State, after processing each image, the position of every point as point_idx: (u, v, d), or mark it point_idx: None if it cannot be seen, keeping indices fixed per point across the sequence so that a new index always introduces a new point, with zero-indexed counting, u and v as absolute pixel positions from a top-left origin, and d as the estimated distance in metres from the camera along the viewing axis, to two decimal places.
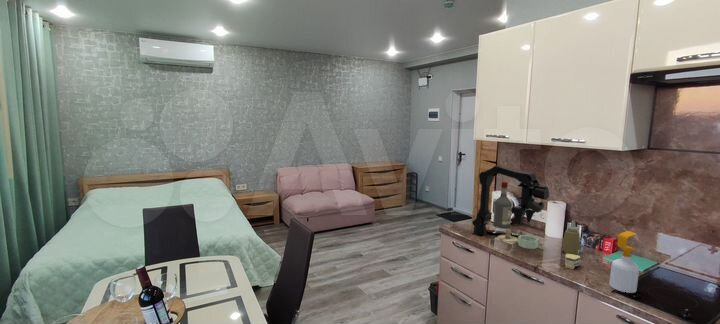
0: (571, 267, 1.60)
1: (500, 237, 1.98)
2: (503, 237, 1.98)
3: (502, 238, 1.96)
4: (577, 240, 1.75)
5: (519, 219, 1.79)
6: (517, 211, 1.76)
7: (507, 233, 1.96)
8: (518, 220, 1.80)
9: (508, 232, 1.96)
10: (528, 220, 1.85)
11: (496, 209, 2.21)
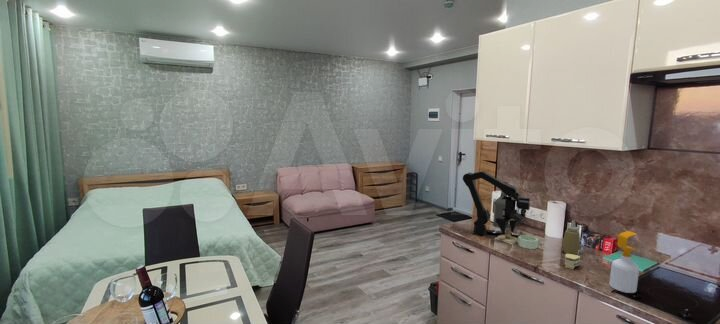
0: (571, 267, 1.60)
1: (500, 237, 1.98)
2: (503, 237, 1.98)
3: (502, 238, 1.96)
4: (577, 240, 1.75)
5: (503, 229, 1.93)
6: (501, 222, 1.90)
7: (507, 233, 1.96)
8: (502, 230, 1.94)
9: (508, 232, 1.96)
10: (512, 230, 2.00)
11: (496, 209, 2.21)
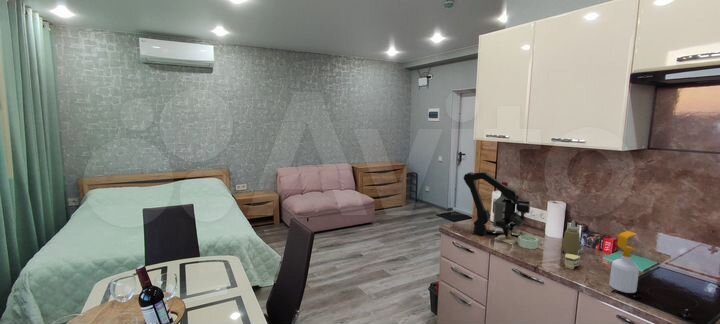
0: (571, 267, 1.60)
1: (500, 237, 1.98)
2: (503, 237, 1.98)
3: (502, 238, 1.96)
4: (577, 240, 1.75)
5: (506, 231, 1.95)
6: (501, 225, 1.90)
7: None
8: (505, 232, 1.96)
9: (508, 232, 1.96)
10: None
11: (496, 209, 2.21)
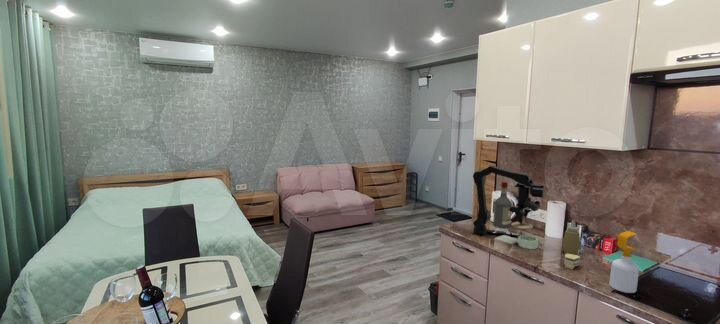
0: (571, 267, 1.60)
1: (514, 224, 1.91)
2: (517, 224, 1.91)
3: (516, 225, 1.89)
4: (577, 240, 1.75)
5: (520, 217, 1.88)
6: (515, 210, 1.83)
7: None
8: (519, 218, 1.88)
9: None
10: None
11: (496, 209, 2.21)
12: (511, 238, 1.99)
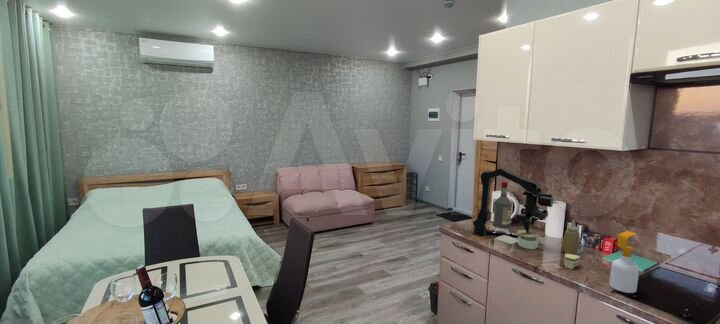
0: (570, 267, 1.60)
1: (520, 232, 1.88)
2: (523, 232, 1.88)
3: (523, 233, 1.86)
4: (577, 240, 1.75)
5: (527, 226, 1.85)
6: (522, 219, 1.80)
7: None
8: (526, 227, 1.85)
9: (529, 227, 1.85)
10: None
11: (496, 209, 2.21)
12: (511, 238, 1.99)
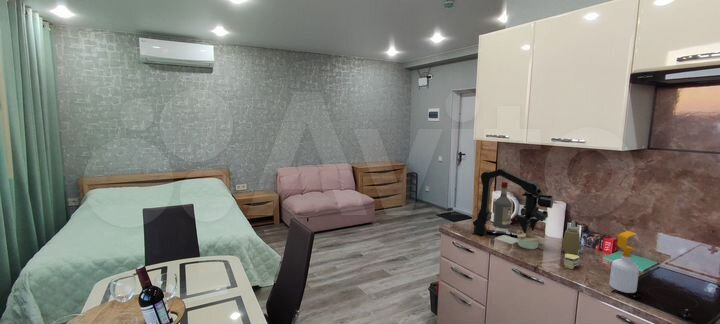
0: (570, 267, 1.60)
1: (520, 236, 1.88)
2: (523, 236, 1.88)
3: (522, 237, 1.86)
4: (577, 240, 1.75)
5: (524, 227, 1.83)
6: (522, 220, 1.80)
7: (528, 231, 1.86)
8: (523, 228, 1.84)
9: (529, 230, 1.86)
10: (532, 228, 1.89)
11: (496, 209, 2.21)
12: (511, 238, 1.99)
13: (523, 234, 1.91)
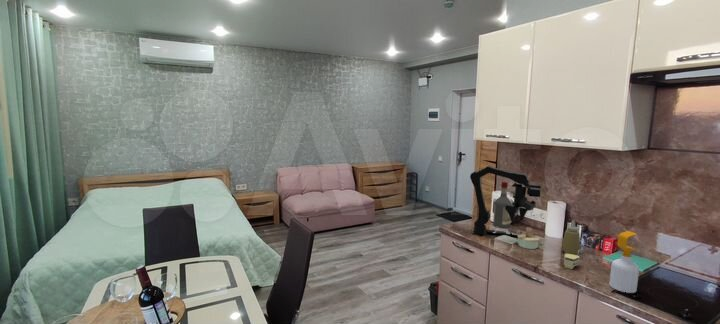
0: (570, 267, 1.60)
1: (520, 236, 1.88)
2: (523, 236, 1.88)
3: (522, 237, 1.86)
4: (577, 240, 1.75)
5: (512, 216, 1.91)
6: (510, 209, 1.88)
7: (528, 231, 1.86)
8: (511, 217, 1.92)
9: (529, 230, 1.86)
10: (521, 218, 1.97)
11: (496, 209, 2.21)
12: (511, 238, 1.99)
13: (523, 234, 1.91)
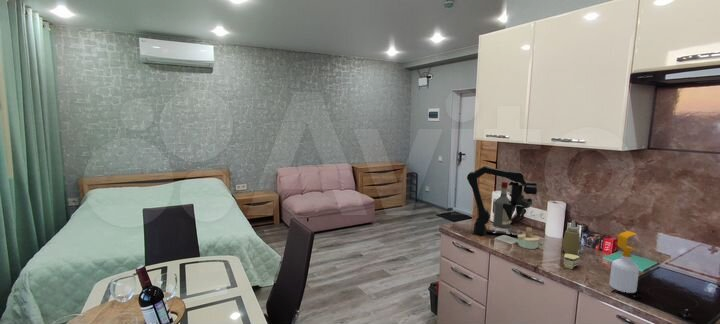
0: (570, 267, 1.60)
1: (520, 236, 1.88)
2: (523, 236, 1.88)
3: (522, 237, 1.86)
4: (577, 240, 1.75)
5: (510, 214, 1.94)
6: (507, 207, 1.91)
7: (528, 231, 1.86)
8: (509, 215, 1.94)
9: (529, 230, 1.86)
10: (518, 215, 2.00)
11: (496, 209, 2.21)
12: (511, 238, 1.99)
13: (523, 234, 1.91)
